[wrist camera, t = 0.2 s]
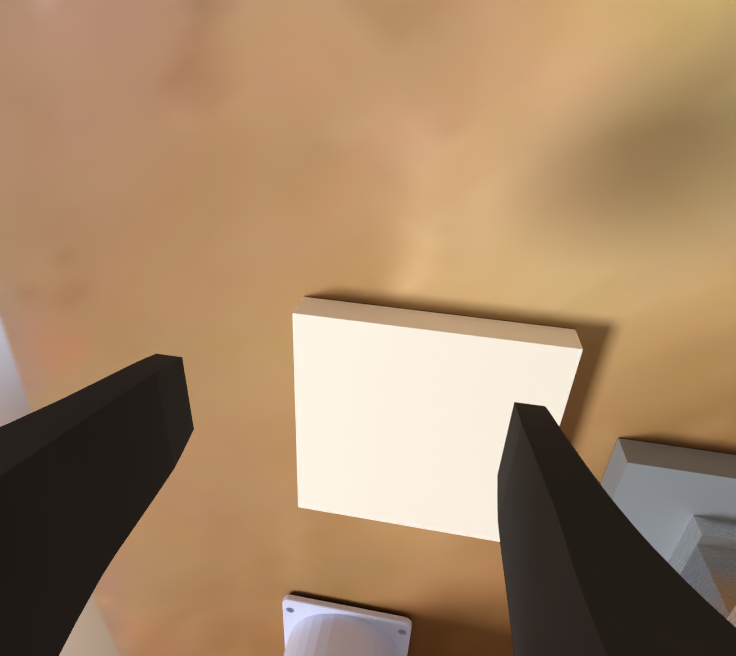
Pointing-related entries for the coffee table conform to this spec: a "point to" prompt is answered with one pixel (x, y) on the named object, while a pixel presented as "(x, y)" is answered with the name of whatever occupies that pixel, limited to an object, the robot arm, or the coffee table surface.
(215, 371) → the coffee table surface
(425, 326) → the stand
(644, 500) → the stand
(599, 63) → the coffee table surface
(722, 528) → the block
